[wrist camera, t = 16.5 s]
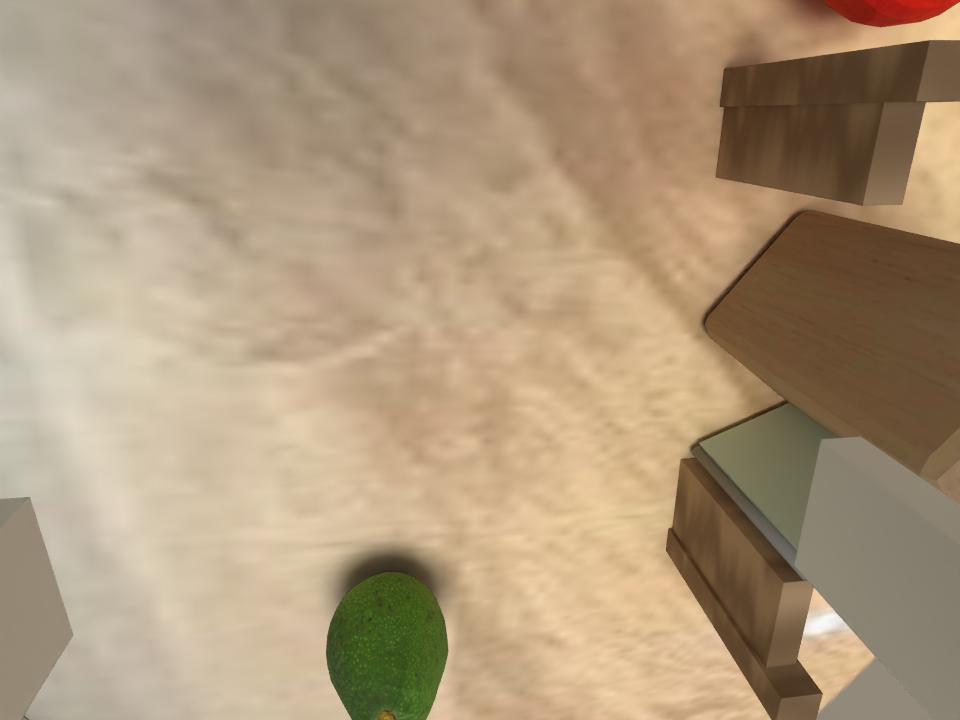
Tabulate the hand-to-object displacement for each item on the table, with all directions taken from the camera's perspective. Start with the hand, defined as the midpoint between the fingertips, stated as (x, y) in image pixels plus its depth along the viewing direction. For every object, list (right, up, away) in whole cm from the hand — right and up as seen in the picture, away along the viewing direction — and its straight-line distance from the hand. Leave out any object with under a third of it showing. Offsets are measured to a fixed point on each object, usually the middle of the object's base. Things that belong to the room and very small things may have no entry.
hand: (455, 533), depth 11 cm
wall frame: (+16, +5, +31) cm, 35 cm away
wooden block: (+22, +7, +32) cm, 39 cm away
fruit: (-6, -14, +36) cm, 39 cm away
